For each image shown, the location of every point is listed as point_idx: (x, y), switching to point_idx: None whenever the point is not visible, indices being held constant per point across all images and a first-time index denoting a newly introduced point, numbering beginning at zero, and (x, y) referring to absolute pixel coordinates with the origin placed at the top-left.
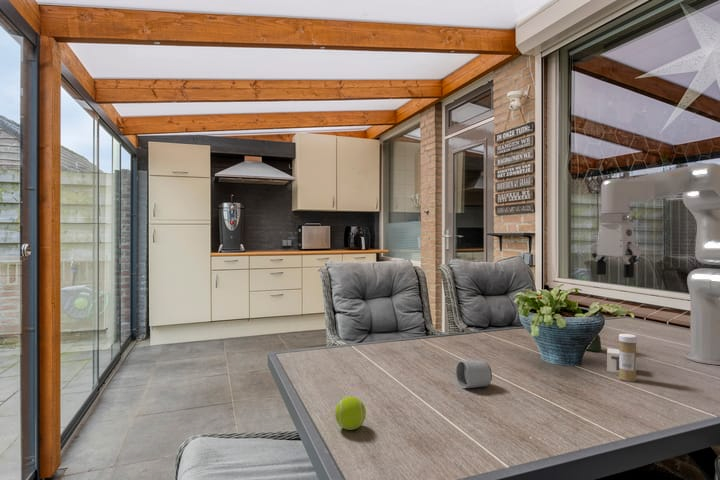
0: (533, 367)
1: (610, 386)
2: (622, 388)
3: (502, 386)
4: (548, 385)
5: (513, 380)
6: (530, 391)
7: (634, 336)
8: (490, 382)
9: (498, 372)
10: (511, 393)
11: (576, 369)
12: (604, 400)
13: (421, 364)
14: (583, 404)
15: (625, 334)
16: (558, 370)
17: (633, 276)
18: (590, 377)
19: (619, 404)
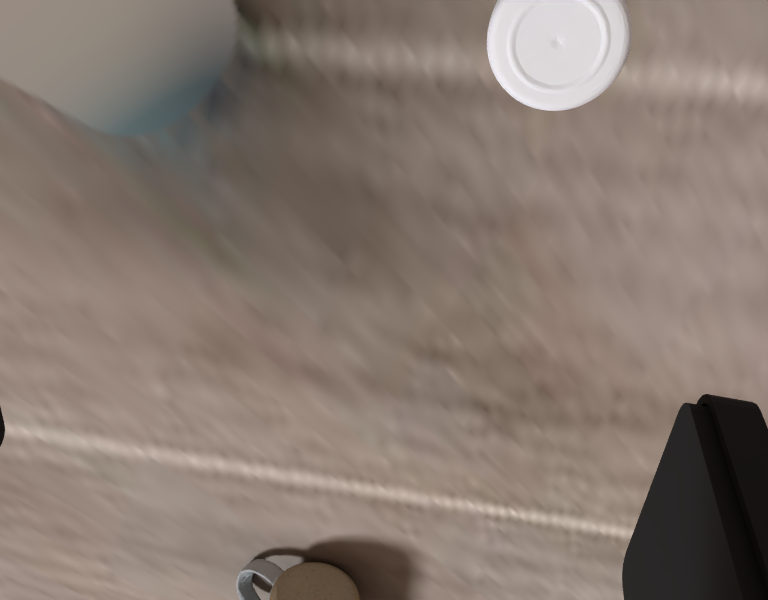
0: (202, 272)
1: (571, 188)
2: (623, 161)
3: (359, 530)
4: (424, 403)
5: (321, 462)
6: (442, 498)
7: (621, 36)
8: (356, 588)
9: (220, 440)
10: (427, 553)
11: (298, 101)
12: (660, 366)
13: (65, 573)
14: (635, 458)
15: (531, 36)
16: (279, 204)
17: (754, 405)
18: (429, 154)
19: (724, 356)
